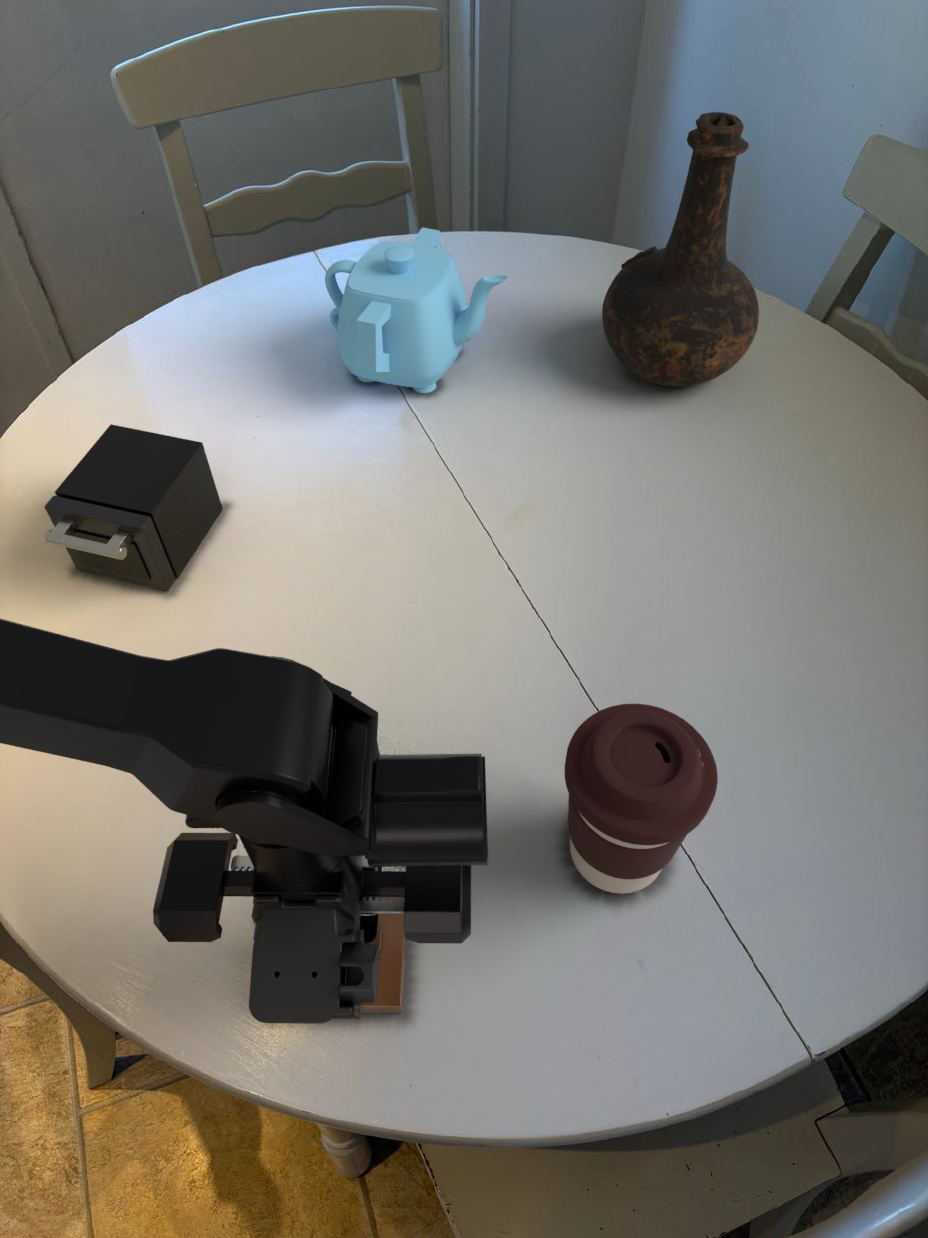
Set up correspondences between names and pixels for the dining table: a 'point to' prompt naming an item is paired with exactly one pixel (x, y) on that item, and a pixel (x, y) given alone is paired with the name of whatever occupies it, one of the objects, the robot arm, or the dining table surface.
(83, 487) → the oven
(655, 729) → the coffee cup
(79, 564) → the oven door
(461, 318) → the teapot
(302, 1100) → the dining table surface
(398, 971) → the control block
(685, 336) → the glass bottle
